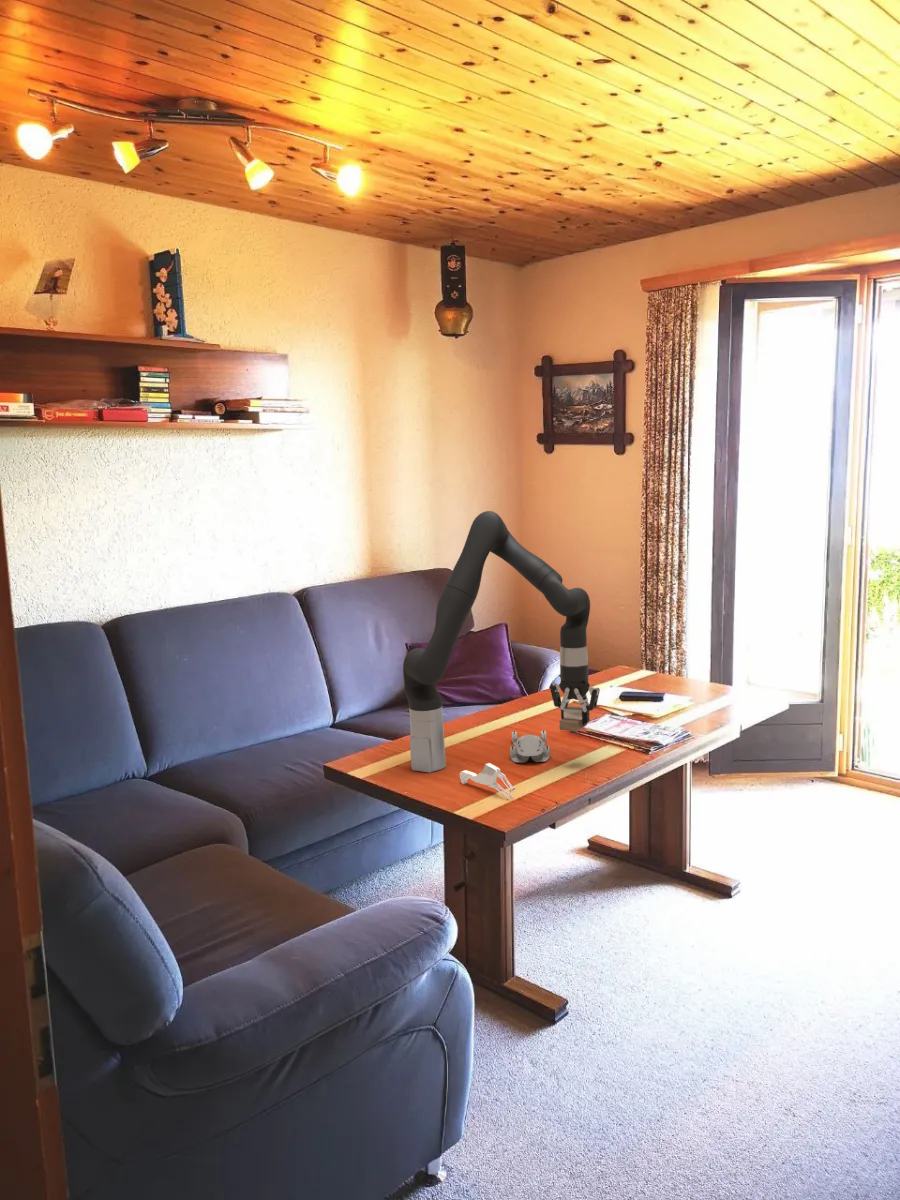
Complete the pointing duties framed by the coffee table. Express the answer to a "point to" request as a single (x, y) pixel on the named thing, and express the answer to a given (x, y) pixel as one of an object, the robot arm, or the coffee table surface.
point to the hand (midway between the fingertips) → (575, 723)
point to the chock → (572, 719)
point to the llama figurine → (487, 778)
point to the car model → (529, 748)
